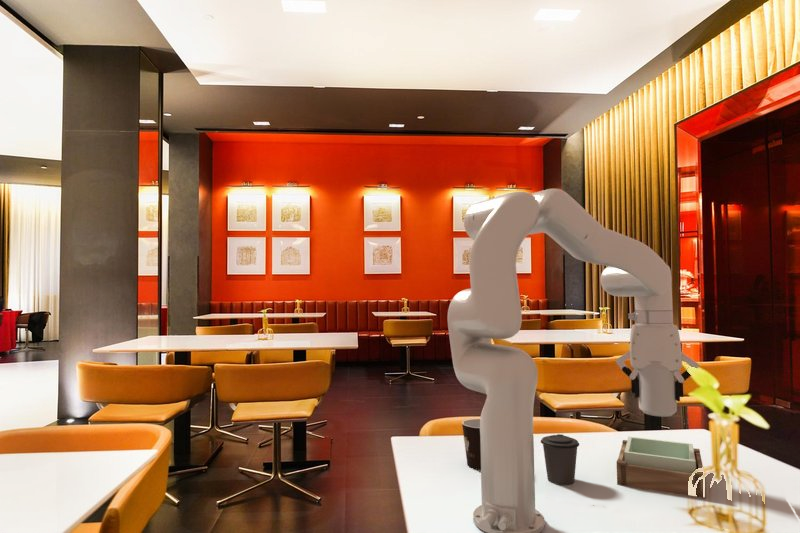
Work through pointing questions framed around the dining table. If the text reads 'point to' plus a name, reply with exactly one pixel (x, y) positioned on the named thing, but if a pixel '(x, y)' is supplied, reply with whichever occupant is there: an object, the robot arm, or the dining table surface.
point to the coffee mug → (472, 442)
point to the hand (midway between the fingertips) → (657, 397)
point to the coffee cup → (560, 458)
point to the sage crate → (660, 454)
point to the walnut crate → (658, 476)
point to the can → (657, 390)
